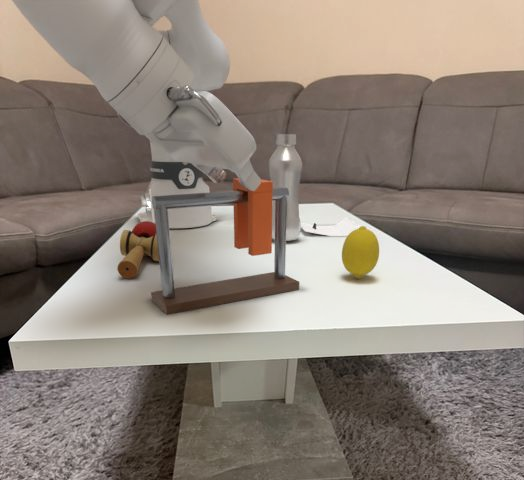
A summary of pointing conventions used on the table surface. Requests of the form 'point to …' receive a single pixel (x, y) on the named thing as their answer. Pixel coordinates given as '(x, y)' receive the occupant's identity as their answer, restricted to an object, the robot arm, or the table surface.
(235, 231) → the orange u-shaped hook
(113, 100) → the robot arm
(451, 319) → the table surface
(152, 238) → the kendama
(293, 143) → the silver metal bottle
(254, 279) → the rail
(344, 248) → the lemon
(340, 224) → the folded paper
